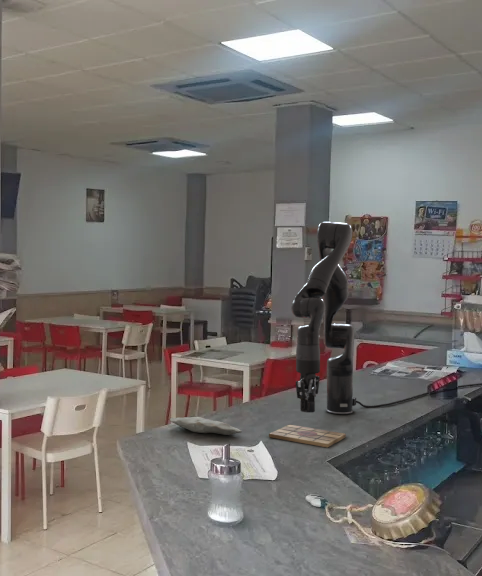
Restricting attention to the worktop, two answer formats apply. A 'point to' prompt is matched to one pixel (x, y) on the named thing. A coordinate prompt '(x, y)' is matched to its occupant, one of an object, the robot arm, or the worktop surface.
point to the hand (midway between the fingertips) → (307, 409)
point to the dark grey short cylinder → (309, 406)
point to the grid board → (308, 435)
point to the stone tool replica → (205, 425)
